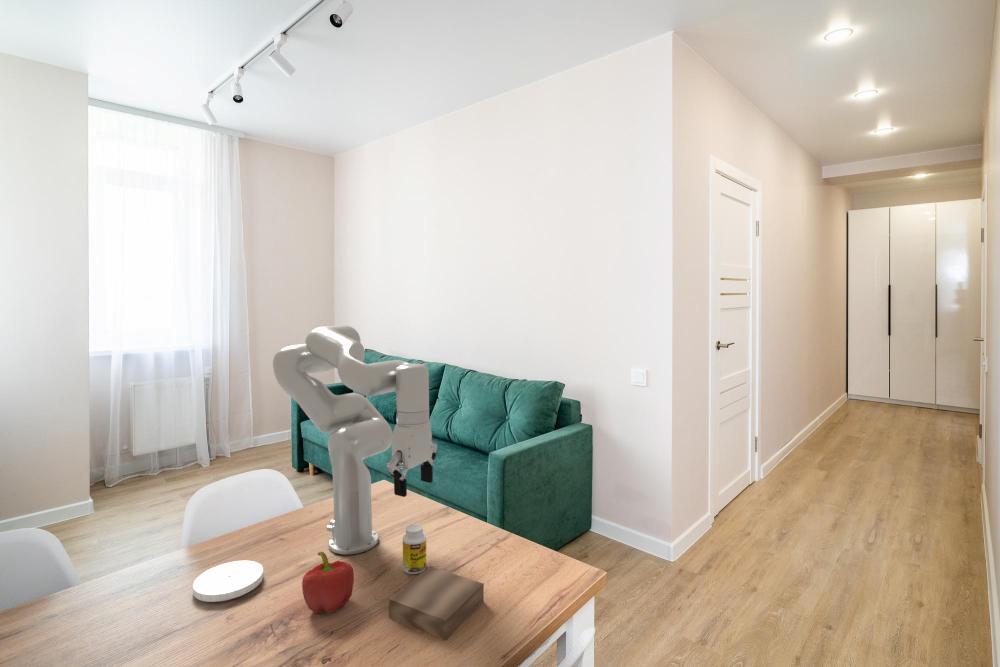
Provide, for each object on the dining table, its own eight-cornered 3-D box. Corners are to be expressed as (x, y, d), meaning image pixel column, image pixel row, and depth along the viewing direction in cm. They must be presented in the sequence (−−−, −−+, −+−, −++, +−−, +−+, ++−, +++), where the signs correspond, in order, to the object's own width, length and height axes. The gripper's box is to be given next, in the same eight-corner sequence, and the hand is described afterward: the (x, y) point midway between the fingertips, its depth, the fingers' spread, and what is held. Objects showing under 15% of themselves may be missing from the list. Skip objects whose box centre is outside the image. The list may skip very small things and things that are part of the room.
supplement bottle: (408, 578, 117) (408, 535, 117) (399, 567, 122) (398, 526, 121) (430, 570, 120) (430, 529, 120) (420, 560, 125) (420, 520, 124)
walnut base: (389, 617, 103) (388, 598, 103) (430, 583, 115) (430, 566, 115) (445, 640, 96) (445, 620, 96) (483, 601, 108) (483, 583, 108)
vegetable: (295, 601, 108) (294, 556, 108) (343, 584, 115) (342, 542, 114) (311, 628, 100) (310, 579, 99) (362, 608, 106) (361, 562, 105)
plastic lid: (231, 566, 123) (231, 556, 123) (277, 576, 118) (277, 566, 118) (177, 598, 110) (177, 587, 110) (227, 612, 105) (226, 600, 105)
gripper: (423, 407, 128) (424, 474, 129) (374, 423, 113) (376, 498, 114) (447, 411, 124) (448, 479, 125) (401, 427, 109) (402, 504, 110)
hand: (414, 488), depth 120 cm, fingers open, 9 cm apart
